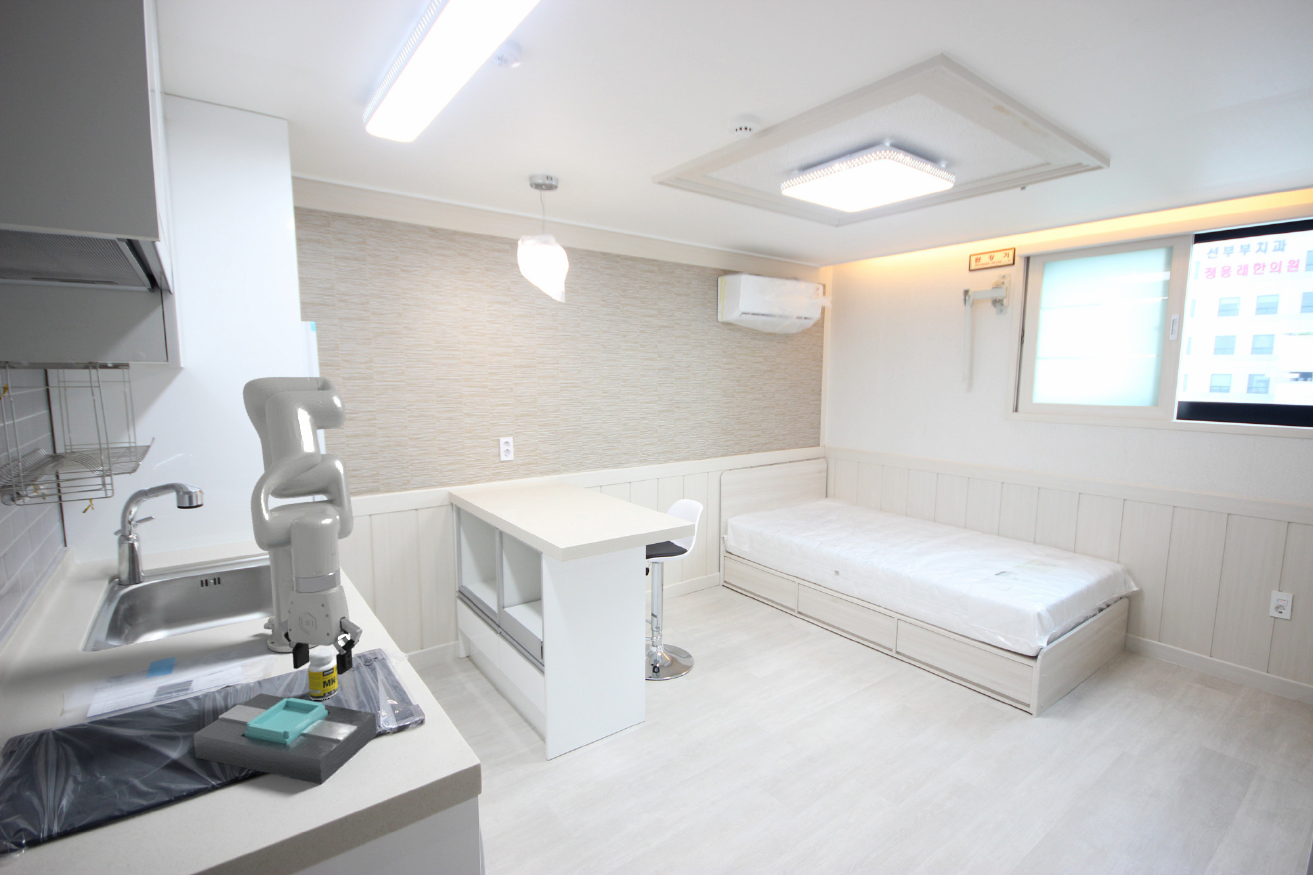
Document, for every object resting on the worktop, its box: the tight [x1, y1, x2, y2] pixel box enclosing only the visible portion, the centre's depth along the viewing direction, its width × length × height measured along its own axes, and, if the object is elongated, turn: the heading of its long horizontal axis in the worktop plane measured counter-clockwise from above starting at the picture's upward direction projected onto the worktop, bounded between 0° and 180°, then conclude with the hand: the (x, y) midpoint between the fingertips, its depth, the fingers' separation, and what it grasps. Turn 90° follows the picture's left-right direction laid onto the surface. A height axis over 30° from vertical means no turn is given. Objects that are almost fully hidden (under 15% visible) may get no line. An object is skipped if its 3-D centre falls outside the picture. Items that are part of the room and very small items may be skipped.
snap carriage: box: [244, 697, 328, 745], centre depth 96 cm, size 8×8×3 cm
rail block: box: [193, 693, 377, 785], centre depth 96 cm, size 24×12×4 cm, turn 77°
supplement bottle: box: [307, 648, 339, 701], centre depth 111 cm, size 5×5×8 cm
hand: (323, 668), depth 110 cm, fingers open, 9 cm apart
